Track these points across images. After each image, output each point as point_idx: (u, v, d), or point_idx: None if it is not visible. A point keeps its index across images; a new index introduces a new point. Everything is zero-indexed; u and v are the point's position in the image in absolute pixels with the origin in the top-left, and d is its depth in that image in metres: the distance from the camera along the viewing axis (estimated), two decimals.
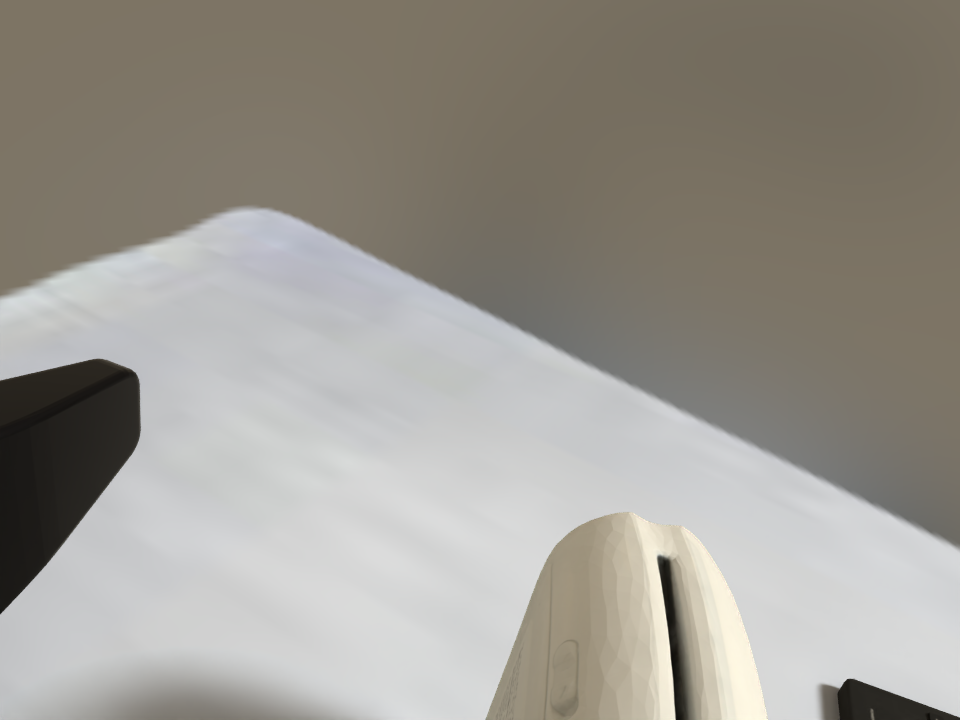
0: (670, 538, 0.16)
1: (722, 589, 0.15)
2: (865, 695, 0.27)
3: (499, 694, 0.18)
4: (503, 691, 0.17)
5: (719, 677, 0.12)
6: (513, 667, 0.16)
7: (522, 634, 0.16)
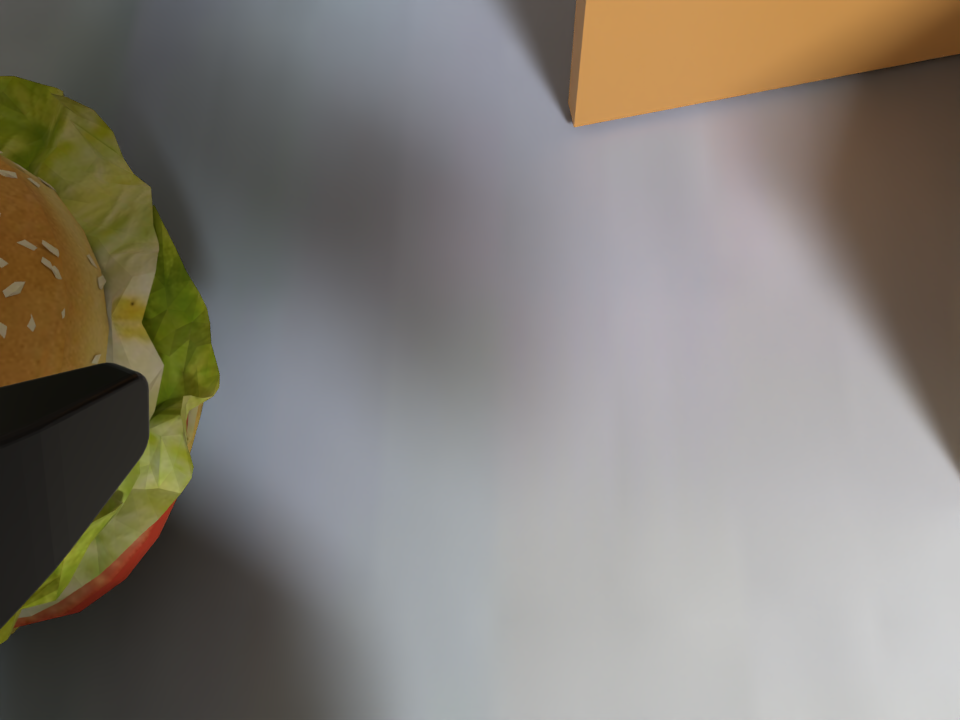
0: None
1: None
2: None
3: None
4: None
5: None
6: None
7: None
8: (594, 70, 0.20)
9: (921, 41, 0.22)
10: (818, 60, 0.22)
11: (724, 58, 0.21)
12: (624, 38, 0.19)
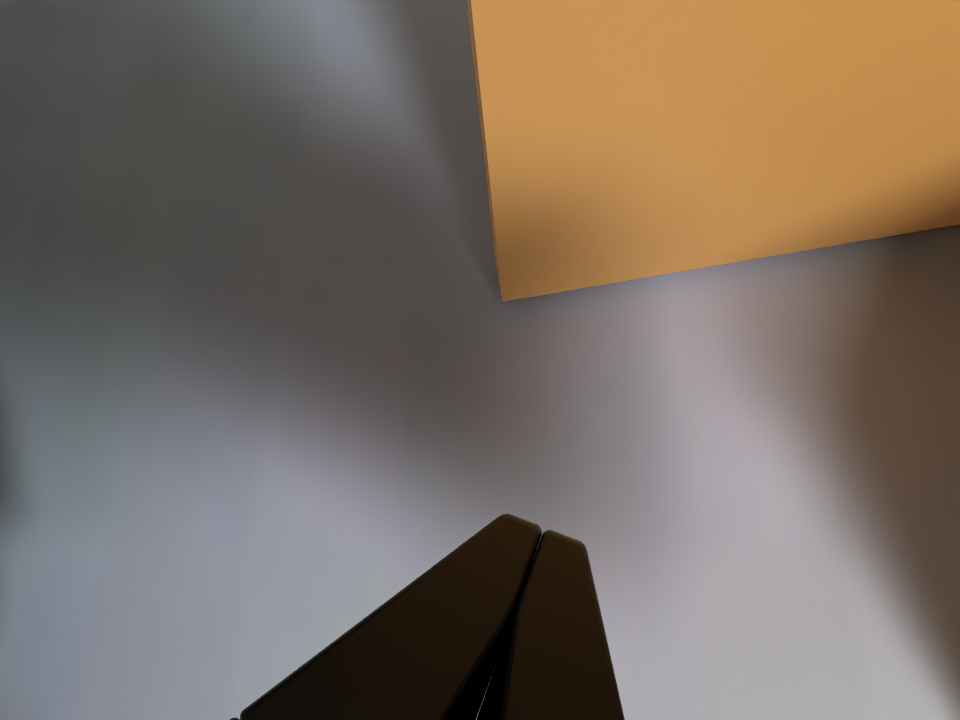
0: None
1: None
2: None
3: None
4: None
5: None
6: None
7: None
8: (519, 251, 0.15)
9: None
10: (834, 228, 0.16)
11: (703, 232, 0.15)
12: (555, 220, 0.14)
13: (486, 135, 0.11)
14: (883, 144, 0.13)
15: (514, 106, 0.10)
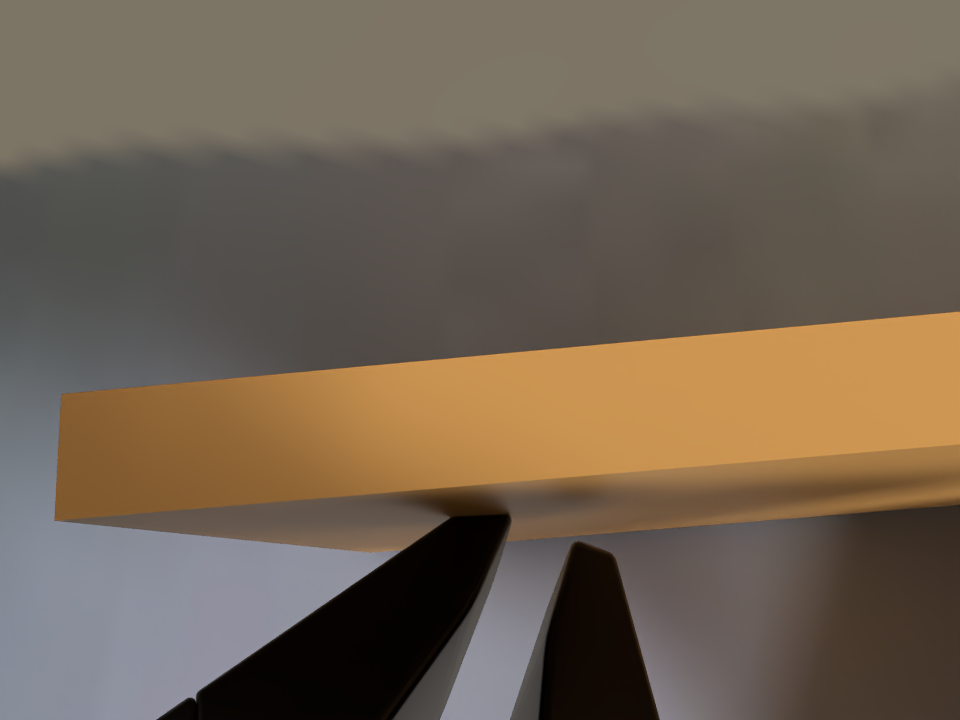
0: None
1: None
2: None
3: None
4: None
5: None
6: None
7: None
8: (362, 546, 0.12)
9: (937, 503, 0.13)
10: (760, 518, 0.13)
11: (593, 529, 0.12)
12: (391, 540, 0.11)
13: None
14: (798, 504, 0.10)
15: (258, 532, 0.08)
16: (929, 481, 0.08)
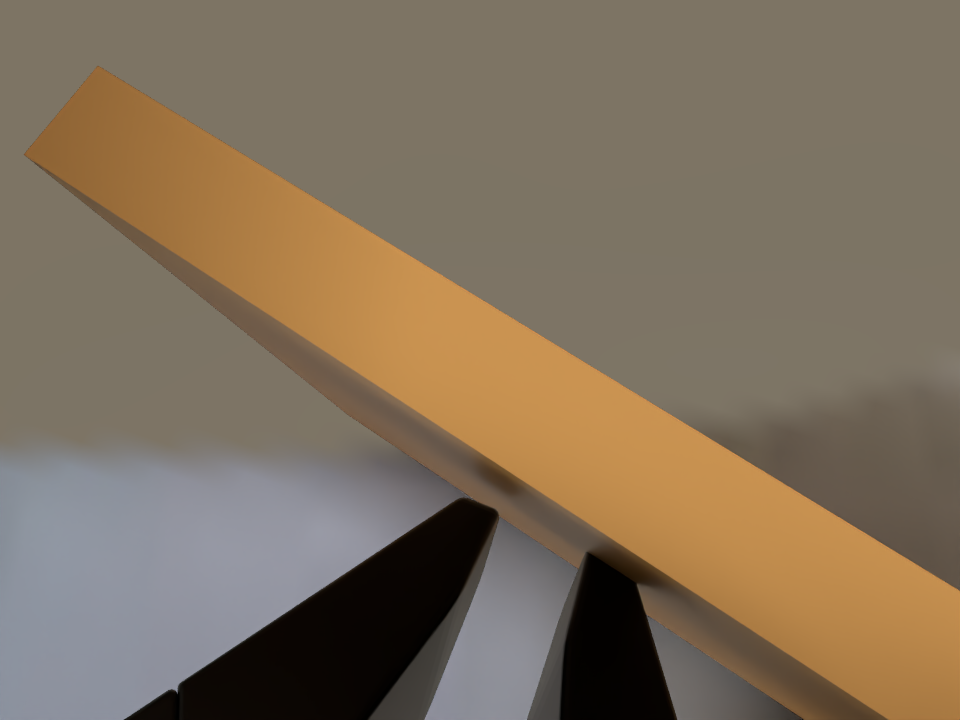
0: None
1: None
2: None
3: None
4: None
5: None
6: None
7: None
8: (332, 398, 0.12)
9: None
10: (671, 629, 0.13)
11: (521, 526, 0.12)
12: (349, 408, 0.11)
13: (208, 302, 0.09)
14: (684, 628, 0.10)
15: (216, 303, 0.08)
16: (781, 681, 0.07)
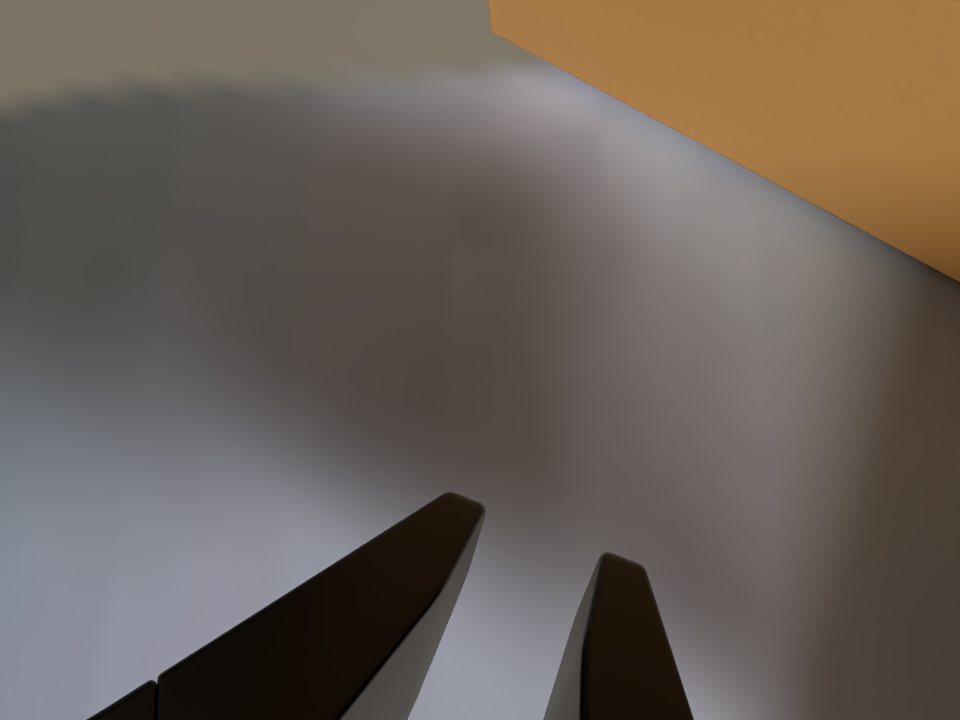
0: None
1: None
2: None
3: None
4: None
5: None
6: None
7: None
8: None
9: None
10: (814, 168, 0.14)
11: (679, 61, 0.13)
12: None
13: None
14: (868, 34, 0.11)
15: None
16: None
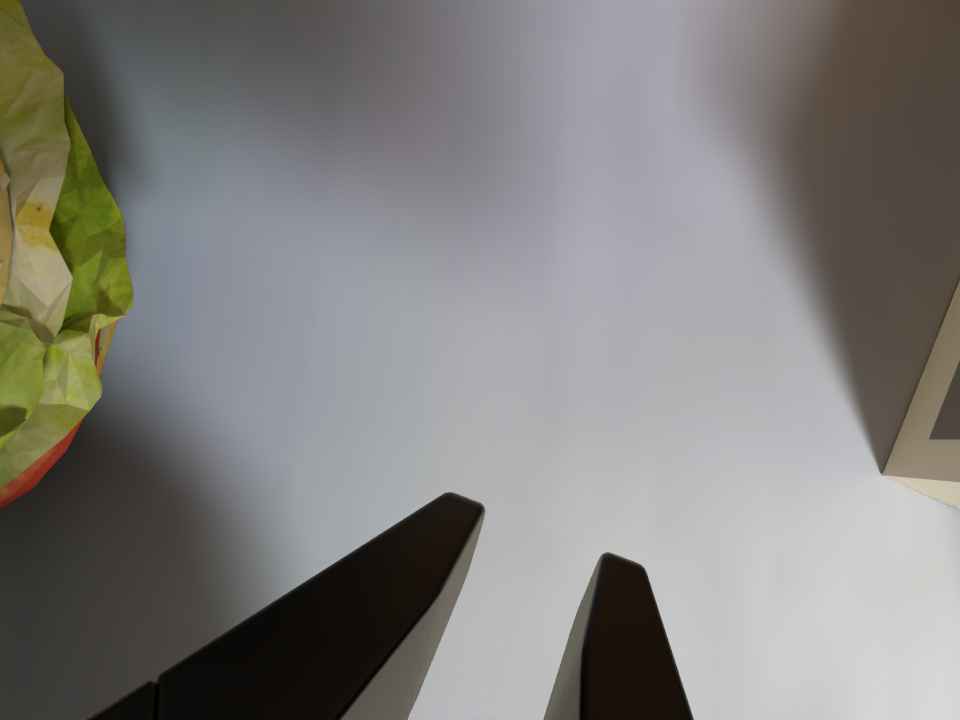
0: None
1: None
2: None
3: None
4: None
5: None
6: None
7: None
8: None
9: None
10: None
11: None
12: None
13: None
14: None
15: None
16: None
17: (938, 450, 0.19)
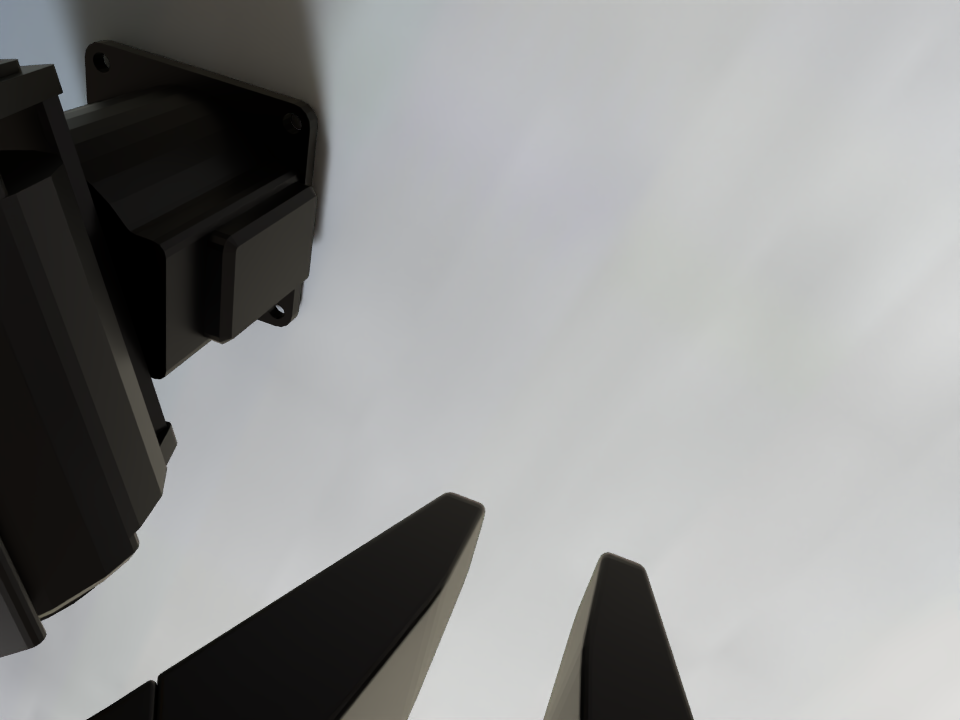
0: None
1: None
2: None
3: None
4: None
5: None
6: None
7: None
8: None
9: None
10: None
11: None
12: None
13: None
14: None
15: None
16: None
17: None
